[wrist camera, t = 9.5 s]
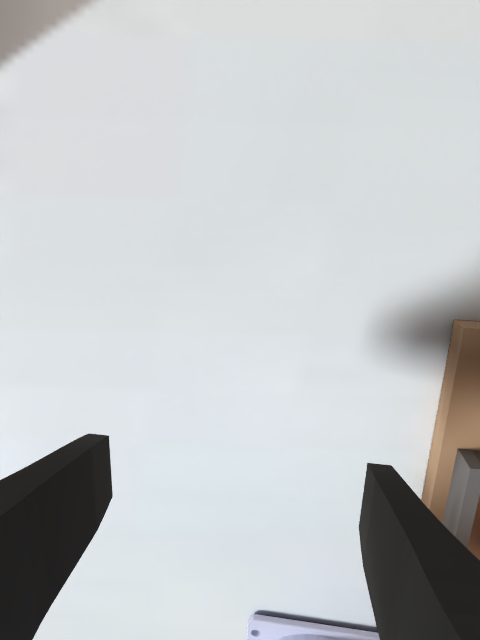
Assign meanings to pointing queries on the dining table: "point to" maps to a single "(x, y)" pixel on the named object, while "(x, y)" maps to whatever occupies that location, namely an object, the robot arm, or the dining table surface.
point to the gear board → (458, 441)
